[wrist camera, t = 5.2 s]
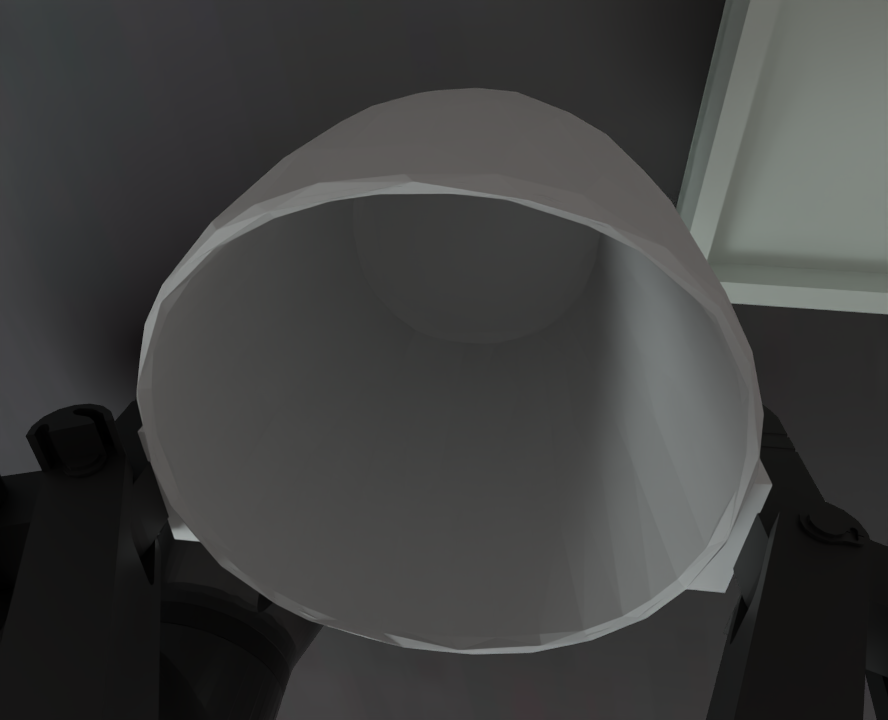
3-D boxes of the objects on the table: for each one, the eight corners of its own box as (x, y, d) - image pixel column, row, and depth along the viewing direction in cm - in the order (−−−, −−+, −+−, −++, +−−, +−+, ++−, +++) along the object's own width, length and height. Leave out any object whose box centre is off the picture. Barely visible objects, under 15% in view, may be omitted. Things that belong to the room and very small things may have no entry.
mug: (277, 83, 15) (-5, 227, 7) (641, 15, 14) (826, 97, 6) (388, 455, 22) (309, 753, 14) (642, 439, 21) (727, 765, 12)
